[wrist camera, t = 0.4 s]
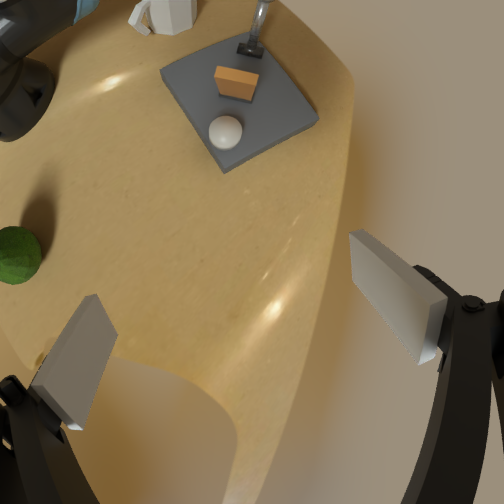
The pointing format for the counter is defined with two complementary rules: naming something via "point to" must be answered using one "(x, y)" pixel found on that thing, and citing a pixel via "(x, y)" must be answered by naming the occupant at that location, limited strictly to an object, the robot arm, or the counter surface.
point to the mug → (164, 16)
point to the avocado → (18, 255)
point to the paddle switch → (236, 84)
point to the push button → (225, 133)
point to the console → (249, 115)
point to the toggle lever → (255, 32)
